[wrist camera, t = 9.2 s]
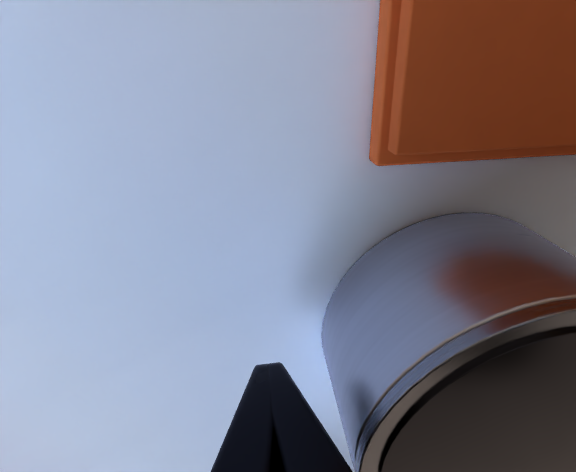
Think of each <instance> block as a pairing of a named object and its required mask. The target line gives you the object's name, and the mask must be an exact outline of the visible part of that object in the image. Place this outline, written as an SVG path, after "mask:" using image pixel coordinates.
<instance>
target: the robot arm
mask: <svg viewBox="0 0 576 472" xmlns="http://www.w3.org/2000/svg"><path fill="white" fill-rule="evenodd" d="M211 472H352V470H351V469H350V467H349V465H348V464H347V462H346V461H345V459H344V458H343V456H342V455H341V453H340V452H339V450H338V449H337V447H336V446H335V444H334V442H333V441H332V439H331V438H330V436H329V435H328V433H327V432H326V430H325V429H324V427H323V426H322V424H321V423H320V421H319V419H318V418H317V416H316V415H315V413H314V412H313V410H312V409H311V407H310V406H309V404H308V403H307V401H306V400H305V398H304V396H303V395H302V393H301V392H300V390H299V389H298V387H297V386H296V384H295V383H294V381H293V380H292V378H291V377H290V375H289V374H288V372H287V370H286V369H285V367H284V366H283V364H282V363H280V362H278V363H270V364H261V365H256V366H255V368H254V370H253V372H252V375H251V377H250V379H249V382H248V384H247V386H246V389H245V391H244V394H243V396H242V398H241V401H240V403H239V406H238V408H237V410H236V413H235V415H234V417H233V420H232V422H231V425H230V427H229V429H228V432H227V434H226V436H225V439H224V441H223V444H222V446H221V448H220V451H219V453H218V456H217V458H216V460H215V463H214V465H213V467H212V470H211Z"/></svg>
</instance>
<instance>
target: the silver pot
mask: <svg viewBox="0 0 576 472" xmlns="http://www.w3.org/2000/svg"><path fill="white" fill-rule="evenodd" d="M322 348H323V352H324V356H325V360H326V364H327V368H328V372H329V376H330V379H331V383H332V387H333V391H334V394H335V398H336V402H337V406H338V410H339V413H340V417H341V421H342V425H343V429H344V432H345V436H346V440H347V444H348V448H349V451H350V455H351V459H352V463H353V466H354V470H355V472H576V257H575V256H573V255H571V254H570V253H568V252H566V251H565V250H563V249H561V248H560V247H558V246H556V245H555V244H553V243H551V242H550V241H548V240H546V239H545V238H543V237H541V236H540V235H538V234H536V233H535V232H533V231H531V230H530V229H528V228H526V227H525V226H523V225H521V224H519V223H517V222H515V221H513V220H510V219H507V218H503V217H500V216H496V215H489V214H482V213H460V214H451V215H444V216H440V217H436V218H431V219H427V220H424V221H422V222H419V223H416V224H413V225H411V226H408V227H406V228H404V229H402V230H400V231H398V232H396V233H394V234H392V235H391V236H389V237H388V238H386V239H384V240H383V241H381V242H380V243H378V244H377V245H375V246H374V247H373V248H372V249H370V250H369V251H368V252H367V253H365V254H364V255H363V256H362V257H361V258H360V259H359V260H358V261H357V262H356V263H355V264H354V265H353V266H352V267H351V268H350V269H349V271H348V272H347V273H346V274H345V276H344V277H343V278H342V279H341V281H340V283H339V284H338V286H337V287H336V289H335V291H334V292H333V294H332V297H331V299H330V301H329V303H328V306H327V308H326V312H325V316H324V319H323V325H322Z"/></svg>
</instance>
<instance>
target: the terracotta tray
mask: <svg viewBox="0 0 576 472" xmlns="http://www.w3.org/2000/svg"><path fill="white" fill-rule="evenodd" d="M575 154H576V0H380V12H379V26H378V40H377V54H376V68H375V83H374V97H373V111H372V125H371V139H370V153H369V159H370V161H372V162H373V163H374V164H375V165H377V166H387V165H404V164H421V163H438V162H456V161H473V160H490V159H507V158H524V157H541V156H558V155H575Z"/></svg>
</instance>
